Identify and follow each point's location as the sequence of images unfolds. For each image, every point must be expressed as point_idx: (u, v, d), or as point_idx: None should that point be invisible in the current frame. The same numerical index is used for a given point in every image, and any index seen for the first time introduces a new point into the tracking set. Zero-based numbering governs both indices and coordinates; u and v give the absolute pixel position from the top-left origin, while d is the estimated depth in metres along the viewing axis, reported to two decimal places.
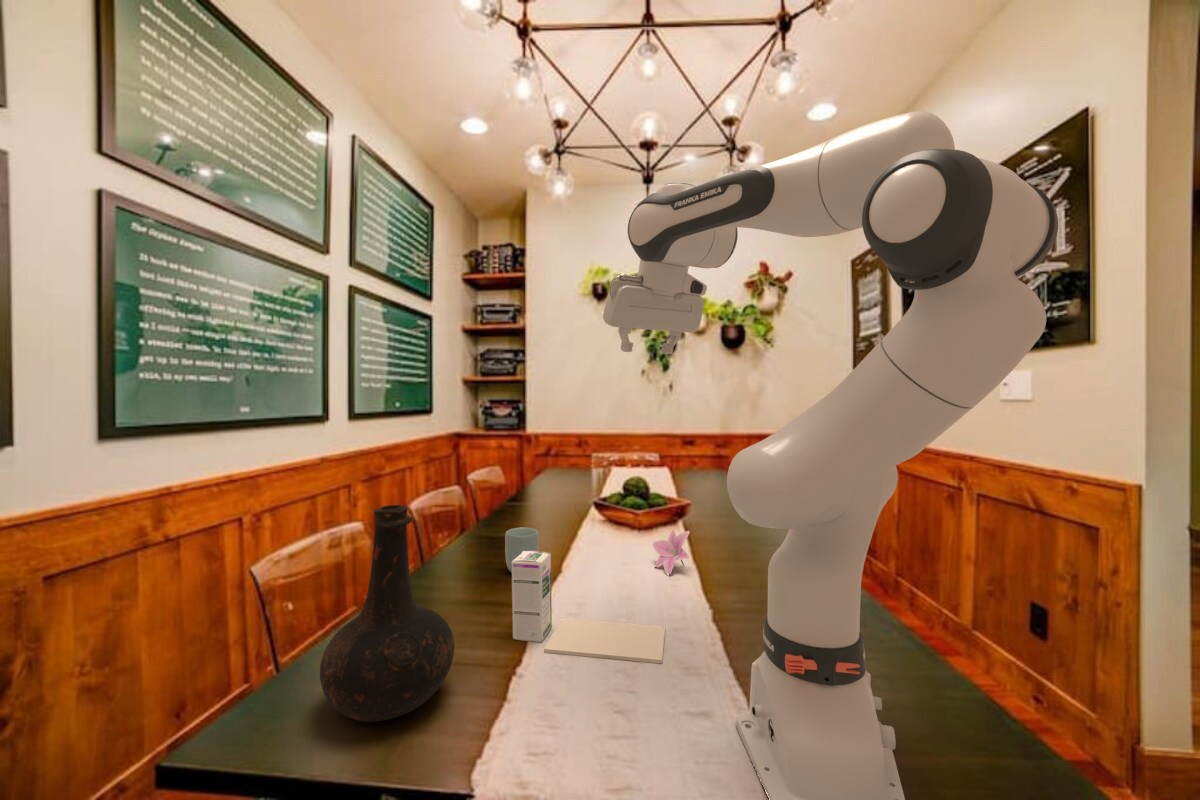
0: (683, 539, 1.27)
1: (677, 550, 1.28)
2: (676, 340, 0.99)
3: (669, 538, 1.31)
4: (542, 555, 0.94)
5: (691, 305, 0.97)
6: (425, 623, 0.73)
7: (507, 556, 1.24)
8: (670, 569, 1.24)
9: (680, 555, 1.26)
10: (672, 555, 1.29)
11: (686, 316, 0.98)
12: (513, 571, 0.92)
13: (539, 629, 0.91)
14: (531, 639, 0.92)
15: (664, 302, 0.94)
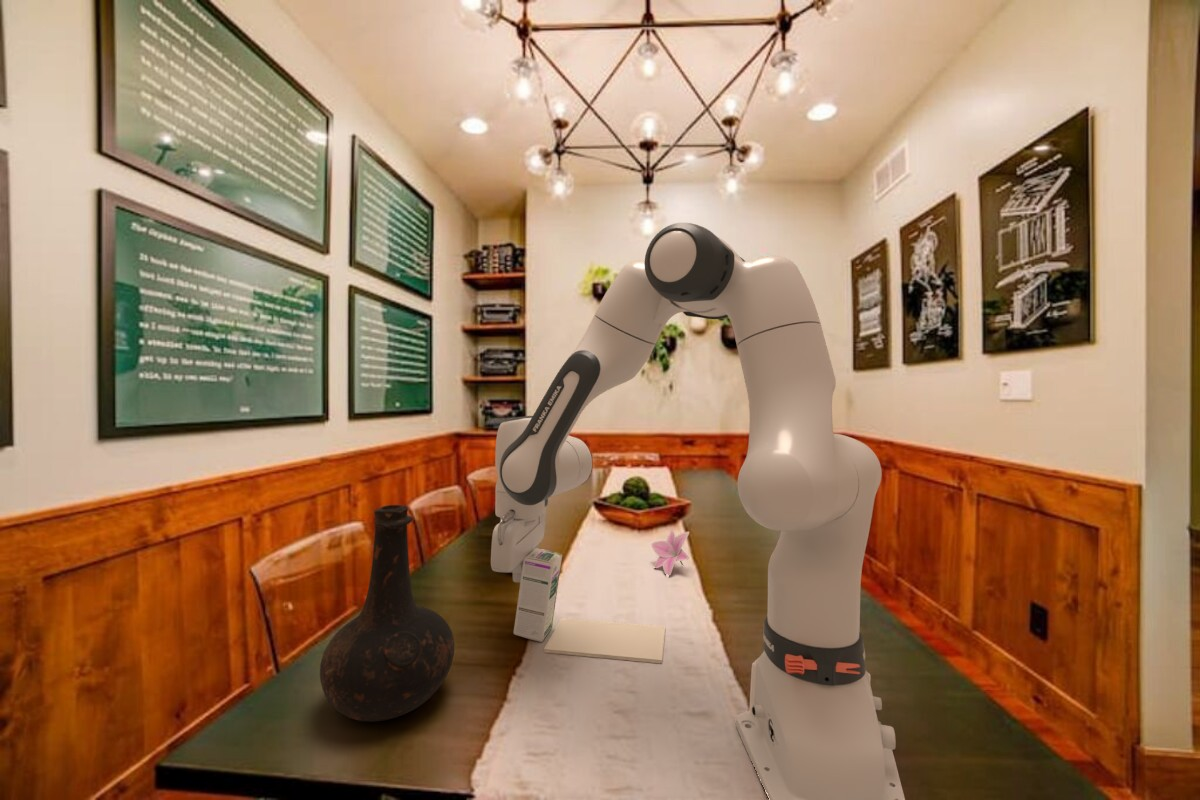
0: (683, 540, 1.26)
1: (676, 551, 1.28)
2: None
3: (668, 539, 1.31)
4: (554, 556, 0.94)
5: (539, 516, 1.01)
6: (425, 623, 0.73)
7: None
8: (670, 570, 1.24)
9: (680, 556, 1.25)
10: (671, 556, 1.29)
11: (539, 529, 1.00)
12: (524, 567, 0.91)
13: (541, 628, 0.91)
14: (531, 637, 0.91)
15: None
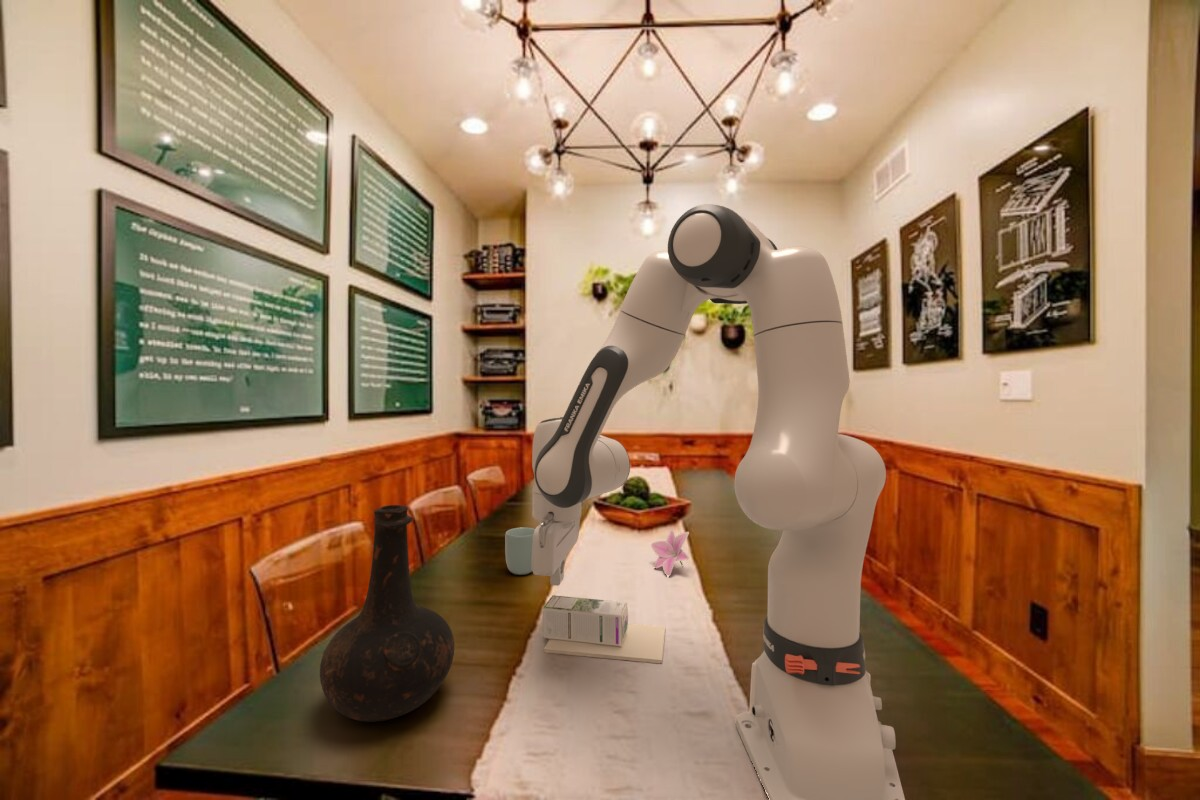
0: (682, 540, 1.26)
1: (676, 551, 1.28)
2: (564, 564, 0.95)
3: (668, 539, 1.31)
4: (625, 633, 0.91)
5: None
6: (425, 623, 0.73)
7: (507, 556, 1.24)
8: (670, 570, 1.23)
9: (680, 556, 1.25)
10: (671, 556, 1.29)
11: (574, 531, 0.99)
12: (611, 616, 0.88)
13: (555, 636, 0.91)
14: (544, 627, 0.91)
15: None
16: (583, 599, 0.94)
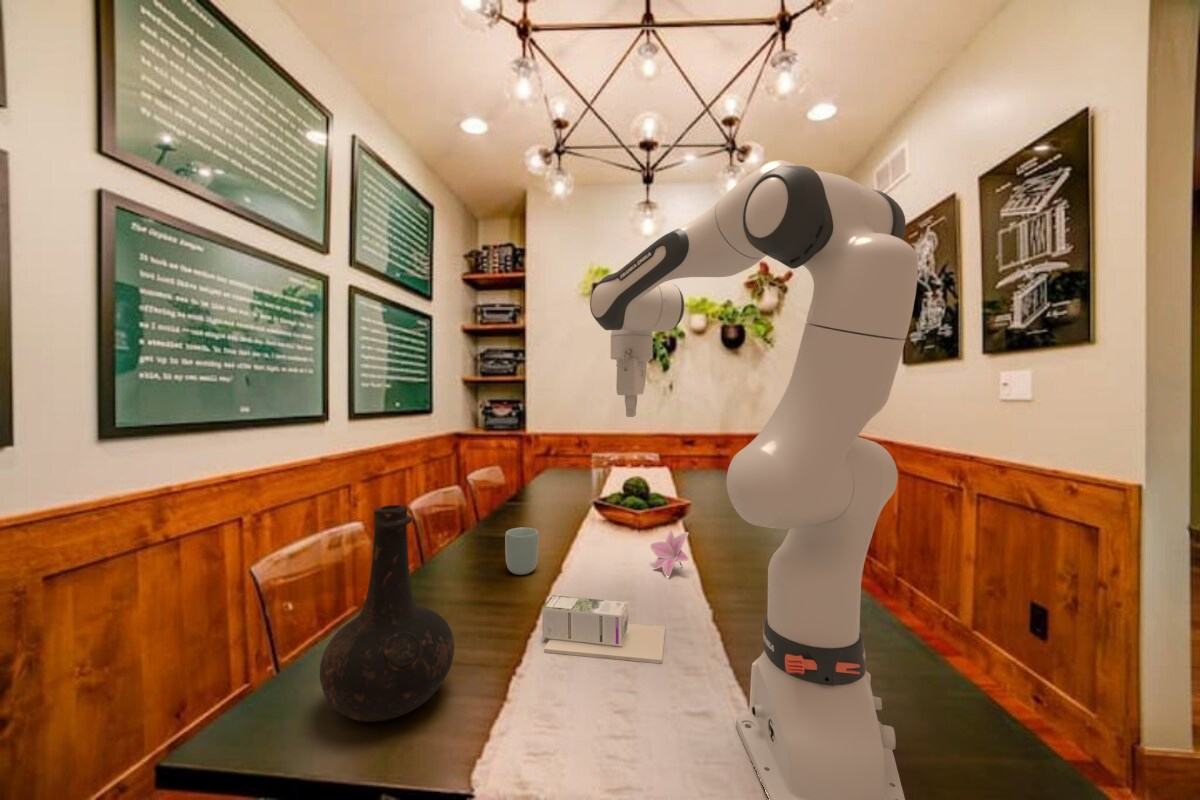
0: (682, 541, 1.26)
1: (676, 552, 1.27)
2: (636, 403, 1.10)
3: (667, 539, 1.30)
4: (625, 633, 0.91)
5: (642, 370, 1.15)
6: (425, 623, 0.73)
7: (507, 556, 1.24)
8: (669, 571, 1.23)
9: (679, 556, 1.24)
10: (670, 557, 1.28)
11: (642, 380, 1.14)
12: (611, 616, 0.88)
13: (555, 636, 0.91)
14: (544, 627, 0.91)
15: (638, 369, 1.09)
16: (583, 599, 0.94)
